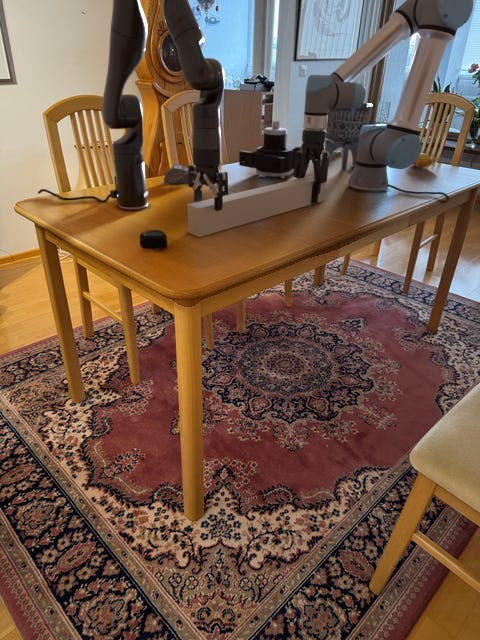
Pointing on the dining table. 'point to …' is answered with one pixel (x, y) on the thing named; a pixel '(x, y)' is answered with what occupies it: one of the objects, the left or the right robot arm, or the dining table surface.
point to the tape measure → (153, 239)
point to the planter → (346, 130)
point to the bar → (250, 206)
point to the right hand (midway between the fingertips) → (307, 200)
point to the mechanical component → (271, 154)
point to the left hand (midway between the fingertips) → (208, 207)
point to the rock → (176, 175)
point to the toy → (424, 161)
